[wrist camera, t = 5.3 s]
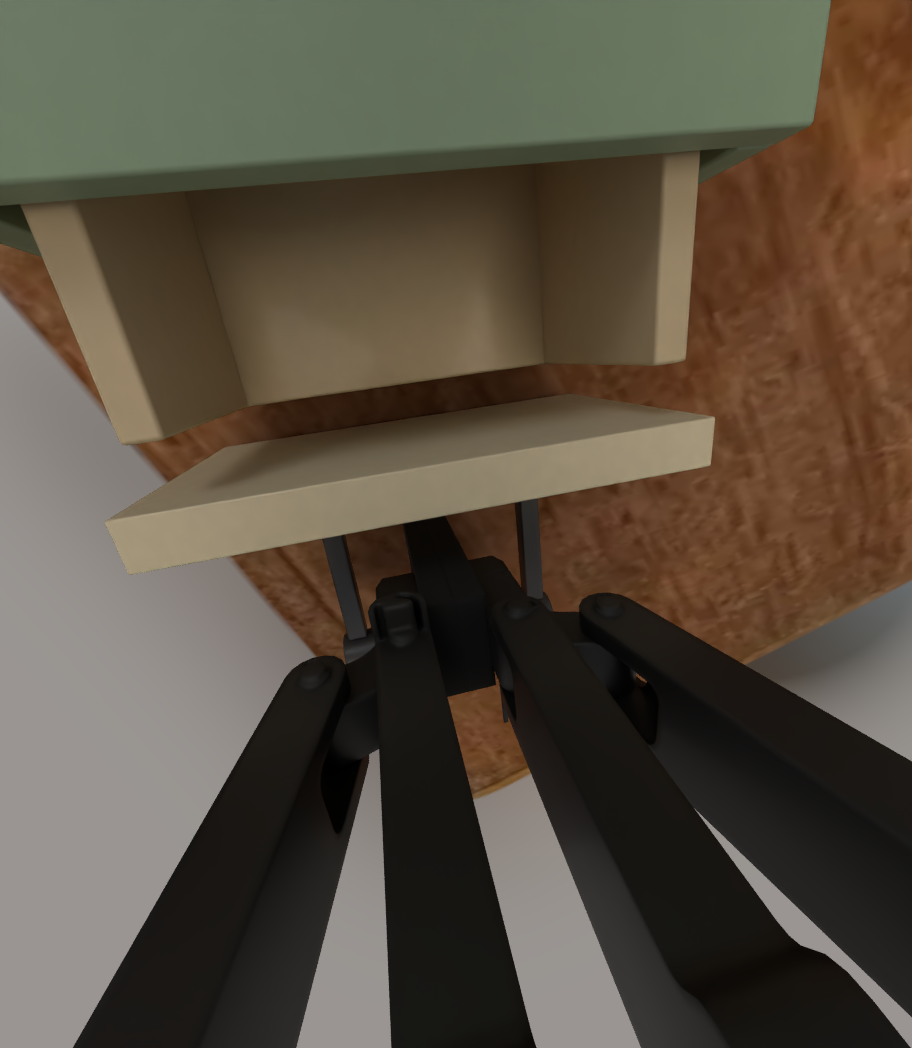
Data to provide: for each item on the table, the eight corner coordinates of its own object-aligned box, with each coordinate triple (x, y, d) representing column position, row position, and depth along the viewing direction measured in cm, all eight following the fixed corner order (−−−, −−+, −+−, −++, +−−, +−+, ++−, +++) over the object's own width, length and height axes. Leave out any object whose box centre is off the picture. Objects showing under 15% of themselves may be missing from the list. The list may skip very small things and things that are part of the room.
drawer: (574, 558, 20) (691, 668, 13) (281, 620, 18) (227, 787, 11) (558, -92, 12) (829, -726, 5) (46, -93, 11) (-636, -1061, 3)
